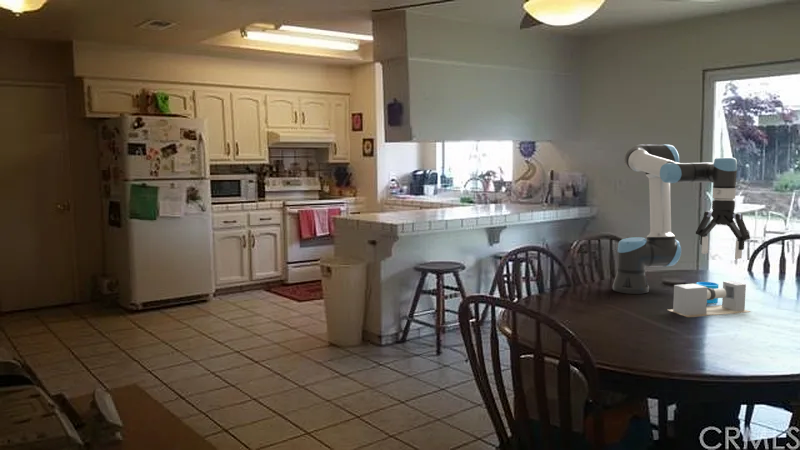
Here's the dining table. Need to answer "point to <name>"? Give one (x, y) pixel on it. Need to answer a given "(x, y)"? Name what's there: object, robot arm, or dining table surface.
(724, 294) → the tube
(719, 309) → the mount board
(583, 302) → the dining table surface
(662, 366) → the dining table surface
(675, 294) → the sleeve
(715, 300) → the mug
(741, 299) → the socket
